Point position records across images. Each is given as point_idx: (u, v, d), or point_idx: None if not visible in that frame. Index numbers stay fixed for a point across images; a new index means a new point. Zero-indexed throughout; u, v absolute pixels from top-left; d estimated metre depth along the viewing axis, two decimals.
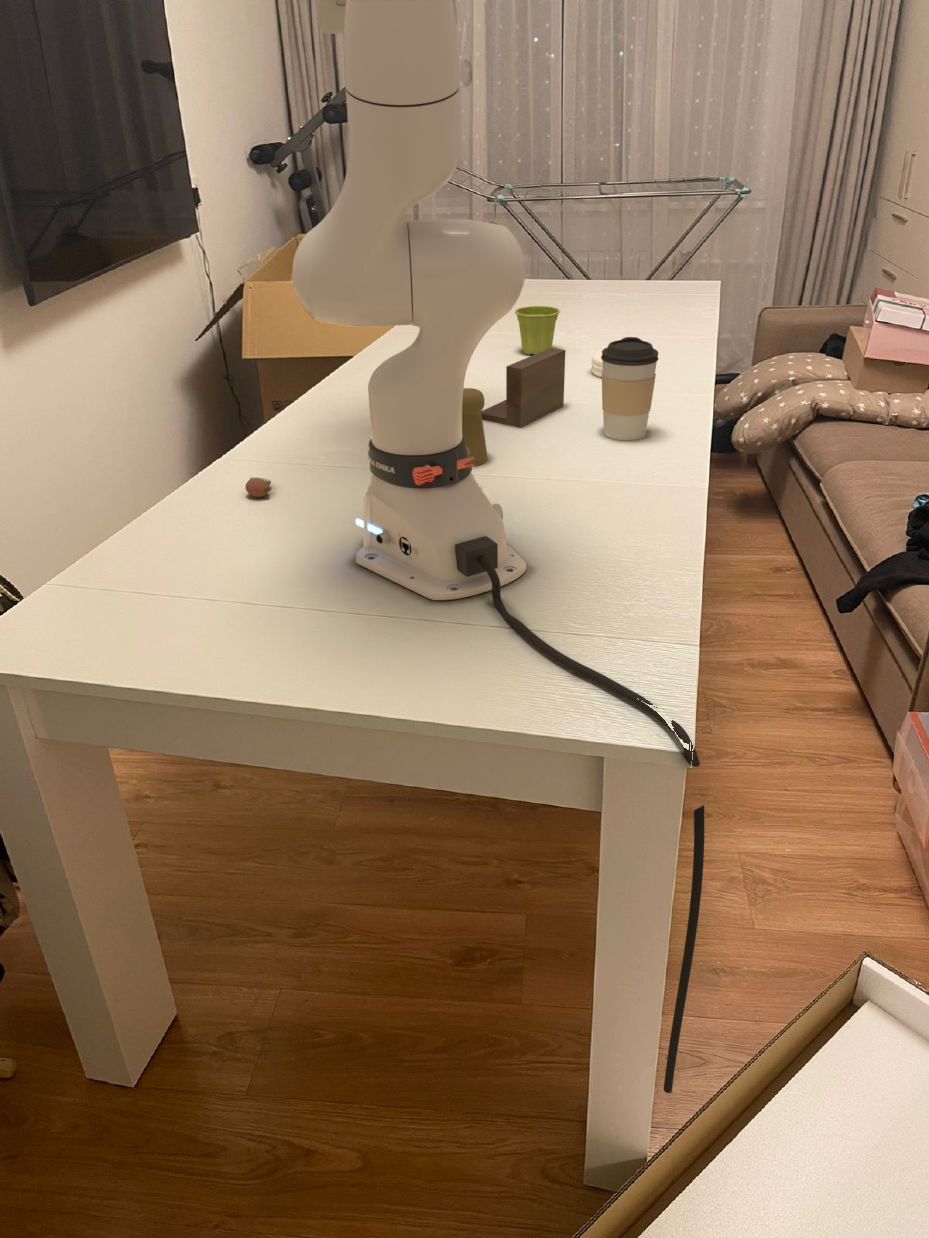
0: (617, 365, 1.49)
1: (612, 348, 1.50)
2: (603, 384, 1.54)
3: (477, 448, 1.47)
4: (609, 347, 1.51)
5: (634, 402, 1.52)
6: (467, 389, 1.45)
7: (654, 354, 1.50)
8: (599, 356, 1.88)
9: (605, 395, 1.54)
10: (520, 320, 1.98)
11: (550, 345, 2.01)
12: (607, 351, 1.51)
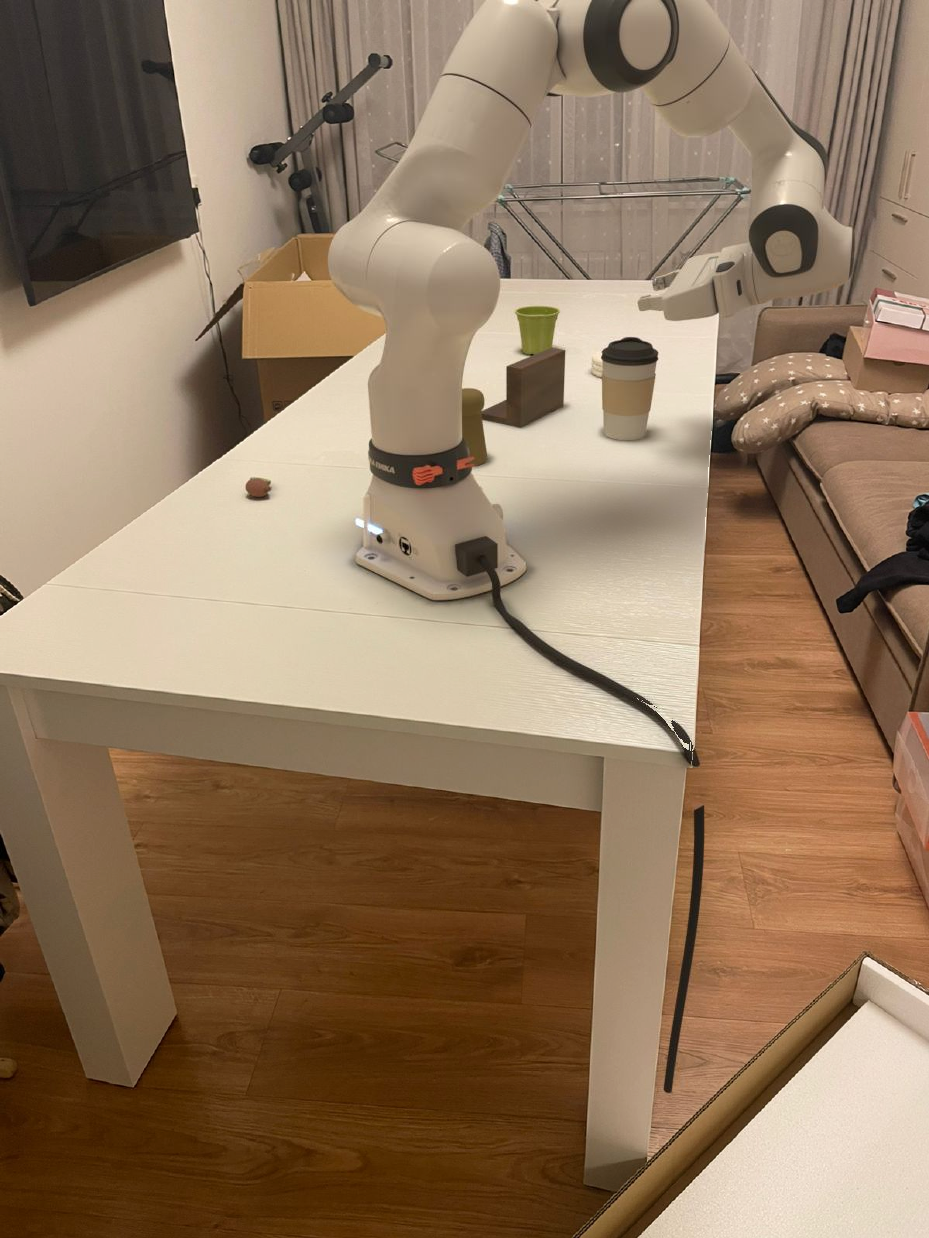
0: (617, 365, 1.49)
1: (612, 348, 1.50)
2: (603, 384, 1.54)
3: (477, 448, 1.47)
4: (609, 347, 1.51)
5: (634, 402, 1.52)
6: (467, 389, 1.45)
7: (654, 354, 1.50)
8: (599, 356, 1.88)
9: (605, 395, 1.54)
10: (520, 320, 1.98)
11: (550, 345, 2.01)
12: (607, 351, 1.51)
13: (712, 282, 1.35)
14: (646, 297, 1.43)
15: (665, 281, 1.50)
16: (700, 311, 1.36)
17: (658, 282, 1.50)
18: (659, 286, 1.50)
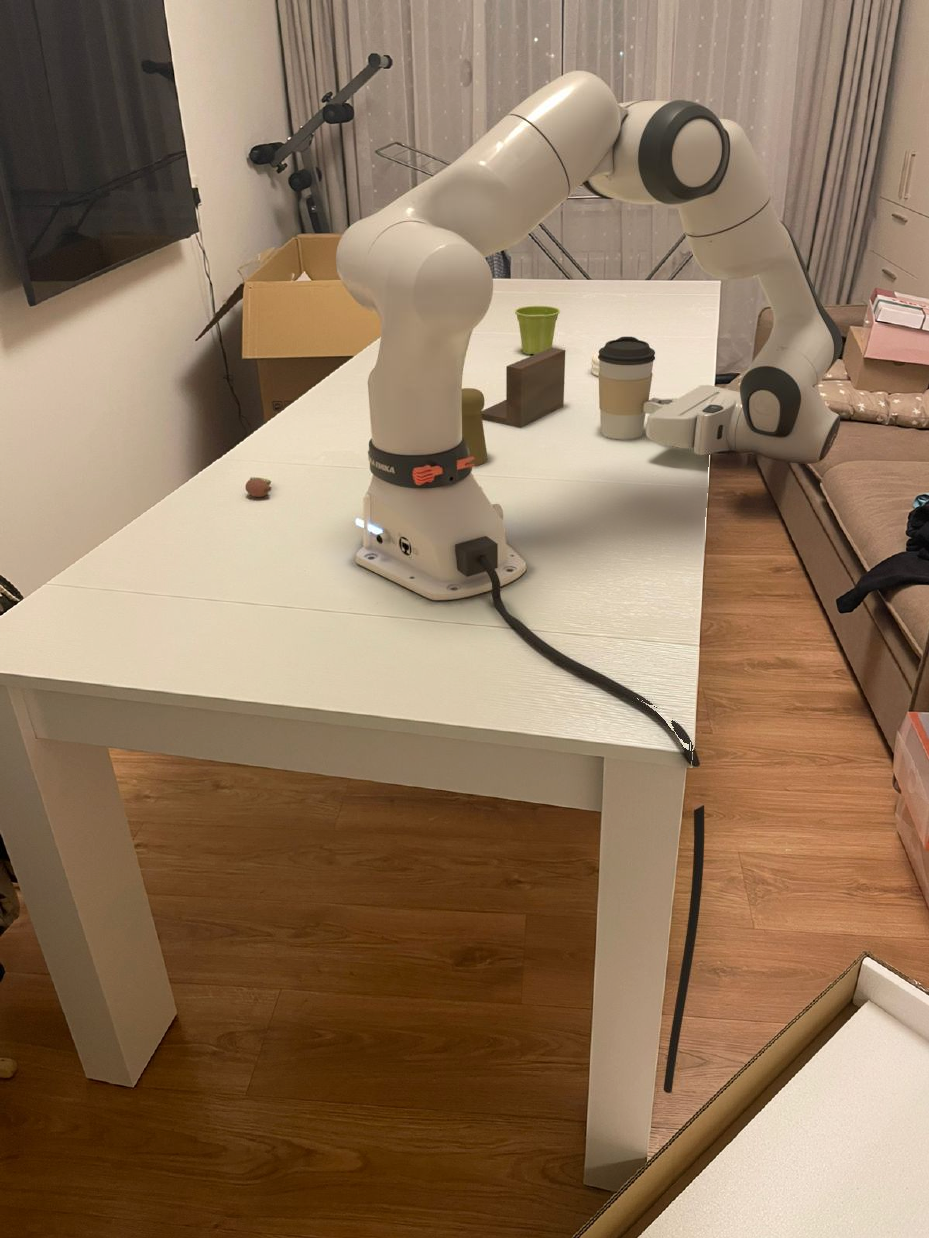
0: (615, 364, 1.49)
1: (609, 348, 1.50)
2: (600, 384, 1.54)
3: (477, 448, 1.47)
4: (606, 347, 1.51)
5: (632, 401, 1.52)
6: (467, 389, 1.45)
7: (651, 353, 1.51)
8: None
9: (602, 395, 1.54)
10: (520, 320, 1.98)
11: (550, 345, 2.01)
12: (604, 351, 1.52)
13: (696, 419, 1.41)
14: (652, 402, 1.52)
15: (660, 405, 1.54)
16: (677, 440, 1.43)
17: None
18: None
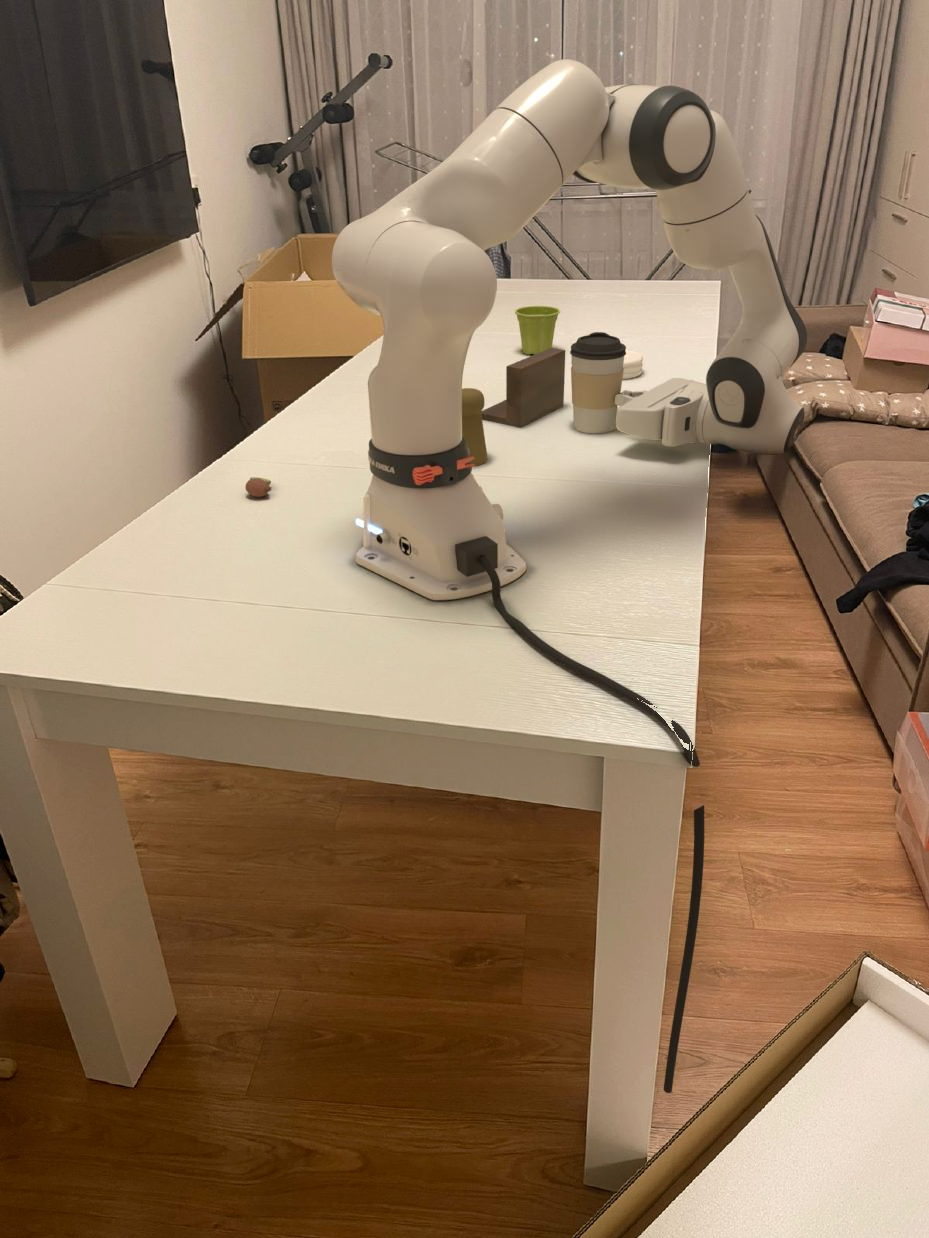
0: (587, 359, 1.52)
1: (581, 343, 1.53)
2: (573, 379, 1.57)
3: (477, 448, 1.47)
4: (578, 342, 1.54)
5: (604, 395, 1.55)
6: (467, 389, 1.45)
7: (622, 348, 1.53)
8: None
9: (575, 389, 1.57)
10: (520, 320, 1.98)
11: (550, 345, 2.01)
12: (576, 346, 1.54)
13: (663, 411, 1.44)
14: (623, 394, 1.55)
15: None
16: (645, 432, 1.46)
17: None
18: None
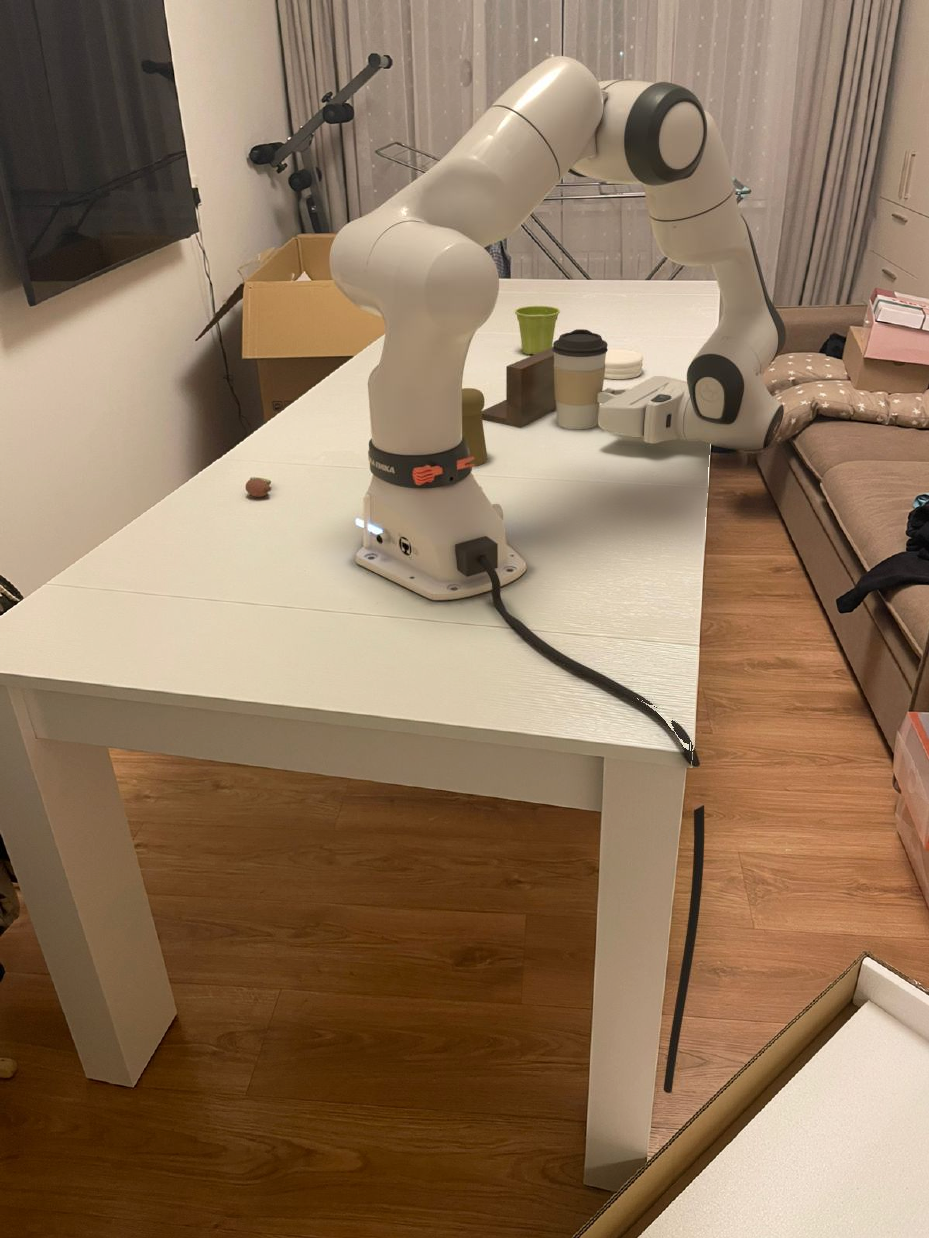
0: (568, 356, 1.54)
1: (563, 340, 1.55)
2: (555, 375, 1.58)
3: (477, 448, 1.47)
4: (560, 339, 1.56)
5: (586, 392, 1.57)
6: (467, 389, 1.45)
7: (603, 345, 1.55)
8: None
9: (557, 386, 1.59)
10: (520, 320, 1.98)
11: (550, 345, 2.01)
12: (558, 343, 1.56)
13: (645, 408, 1.46)
14: (606, 392, 1.57)
15: (614, 395, 1.58)
16: (627, 429, 1.47)
17: None
18: None
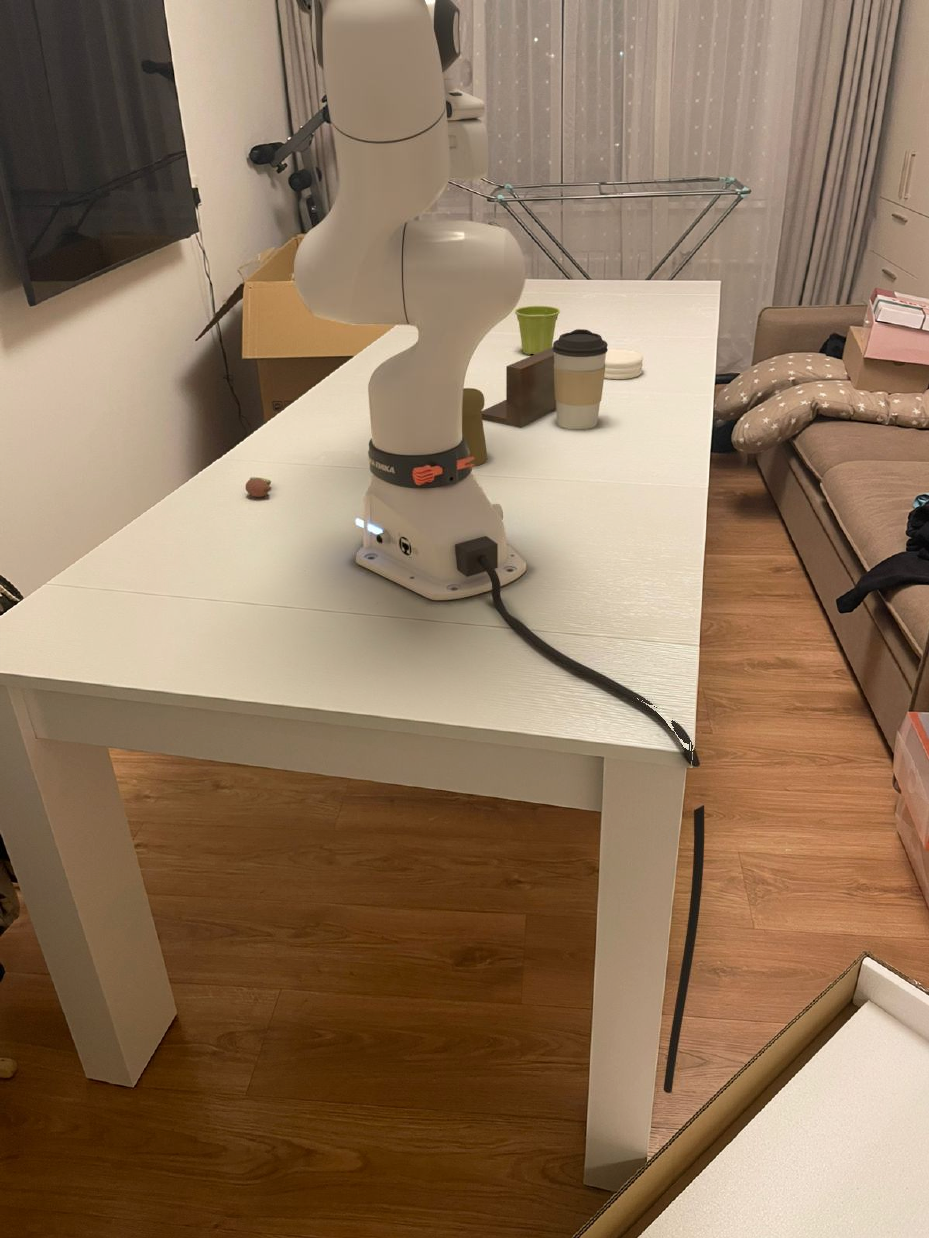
0: (568, 356, 1.54)
1: (563, 340, 1.55)
2: (555, 375, 1.58)
3: (477, 448, 1.47)
4: (560, 339, 1.56)
5: (586, 392, 1.57)
6: (467, 389, 1.45)
7: (603, 345, 1.55)
8: None
9: (557, 386, 1.59)
10: (520, 320, 1.98)
11: (550, 345, 2.01)
12: (558, 343, 1.56)
13: (460, 121, 1.28)
14: None
15: None
16: (483, 136, 1.30)
17: None
18: None
